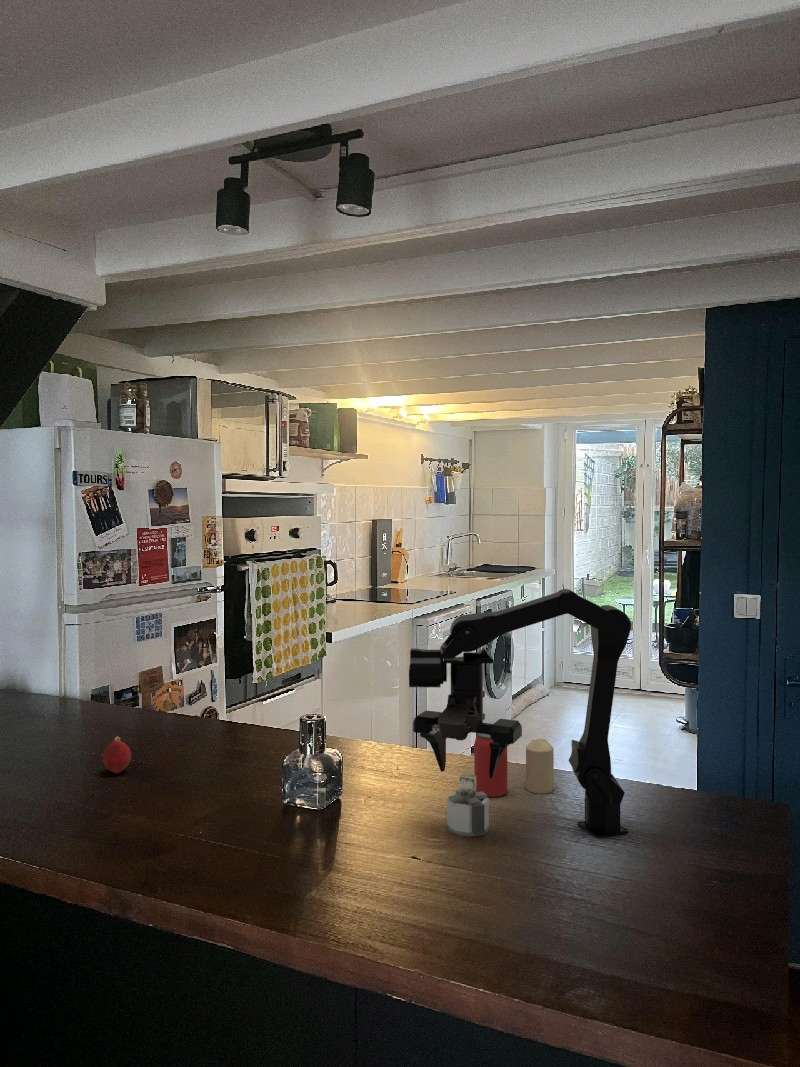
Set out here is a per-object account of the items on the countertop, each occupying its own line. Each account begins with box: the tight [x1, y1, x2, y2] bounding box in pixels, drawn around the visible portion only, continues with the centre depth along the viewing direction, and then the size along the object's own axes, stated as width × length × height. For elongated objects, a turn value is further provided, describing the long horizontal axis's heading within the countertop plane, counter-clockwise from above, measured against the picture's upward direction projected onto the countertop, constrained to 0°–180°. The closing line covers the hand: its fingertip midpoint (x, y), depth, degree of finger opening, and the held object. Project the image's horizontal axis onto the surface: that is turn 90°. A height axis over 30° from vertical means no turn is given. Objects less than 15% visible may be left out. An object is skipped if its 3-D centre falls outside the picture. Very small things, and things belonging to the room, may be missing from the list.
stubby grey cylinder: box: [458, 773, 476, 805], centre depth 146 cm, size 5×5×8 cm
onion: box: [102, 736, 132, 775], centre depth 178 cm, size 6×6×8 cm
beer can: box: [473, 733, 508, 798], centre depth 164 cm, size 7×7×12 cm
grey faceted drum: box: [446, 789, 490, 838], centre depth 146 cm, size 8×7×6 cm
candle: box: [525, 738, 555, 795], centre depth 166 cm, size 6×6×10 cm
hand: (466, 774), depth 146 cm, fingers open, 9 cm apart
